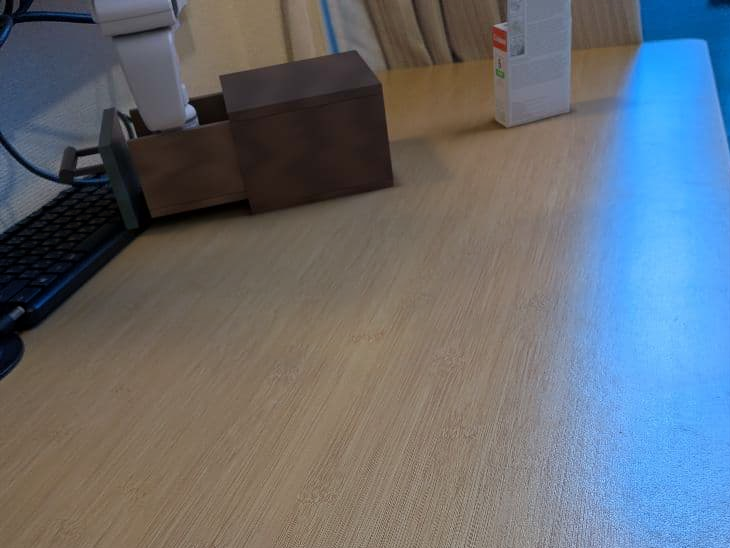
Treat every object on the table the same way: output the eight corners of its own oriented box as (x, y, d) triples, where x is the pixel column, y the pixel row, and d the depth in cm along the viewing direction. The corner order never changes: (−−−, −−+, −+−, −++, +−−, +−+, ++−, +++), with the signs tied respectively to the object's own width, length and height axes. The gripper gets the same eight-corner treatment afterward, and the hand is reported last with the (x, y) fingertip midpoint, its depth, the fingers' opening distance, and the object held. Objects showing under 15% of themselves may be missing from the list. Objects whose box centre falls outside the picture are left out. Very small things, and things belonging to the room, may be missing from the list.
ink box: (493, 122, 95) (488, -29, 85) (555, 106, 97) (557, -44, 87) (507, 130, 93) (504, -24, 82) (570, 114, 94) (574, -39, 84)
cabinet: (252, 216, 83) (227, 112, 76) (242, 171, 93) (218, 75, 86) (394, 188, 84) (382, 83, 77) (369, 145, 94) (356, 49, 87)
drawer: (77, 240, 81) (44, 157, 76) (85, 194, 90) (56, 118, 85) (261, 203, 83) (241, 119, 77) (250, 162, 92) (232, 84, 86)
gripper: (105, -23, 81) (150, 125, 91) (94, 19, 67) (149, 190, 76) (168, -34, 82) (206, 114, 91) (171, 5, 67) (216, 177, 77)
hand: (181, 149), depth 84 cm, fingers closed on pill bottle, 5 cm apart
